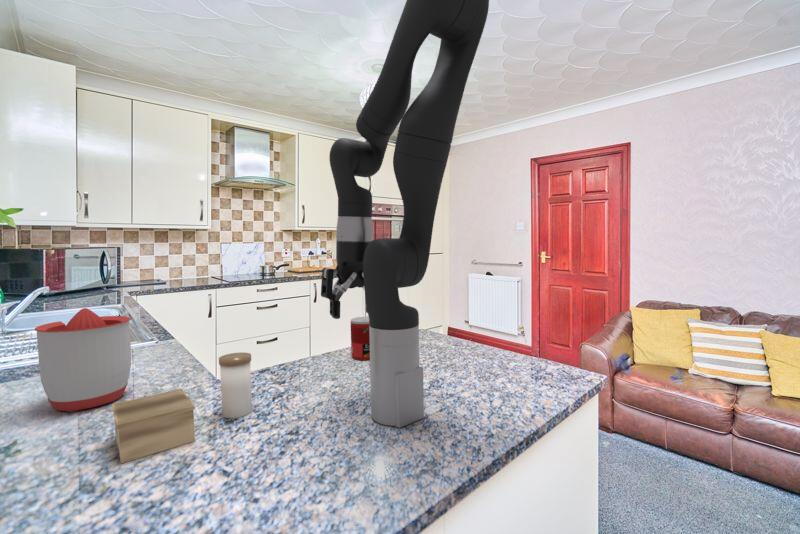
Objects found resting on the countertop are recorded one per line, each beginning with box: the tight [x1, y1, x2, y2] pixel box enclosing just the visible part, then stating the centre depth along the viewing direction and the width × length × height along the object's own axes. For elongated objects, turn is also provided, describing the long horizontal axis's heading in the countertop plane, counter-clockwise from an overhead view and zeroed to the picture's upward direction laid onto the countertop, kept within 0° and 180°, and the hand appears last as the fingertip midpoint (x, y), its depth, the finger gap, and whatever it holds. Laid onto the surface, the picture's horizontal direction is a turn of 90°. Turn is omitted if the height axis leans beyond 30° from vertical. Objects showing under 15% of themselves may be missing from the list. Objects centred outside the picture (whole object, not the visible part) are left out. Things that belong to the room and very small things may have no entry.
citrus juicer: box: [34, 307, 132, 413], centre depth 82 cm, size 16×17×20 cm
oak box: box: [111, 388, 196, 464], centre depth 64 cm, size 10×10×6 cm
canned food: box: [350, 316, 370, 361], centre depth 111 cm, size 8×8×11 cm
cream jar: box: [218, 352, 253, 419], centre depth 75 cm, size 6×6×11 cm
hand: (353, 315), depth 82 cm, fingers open, 8 cm apart
